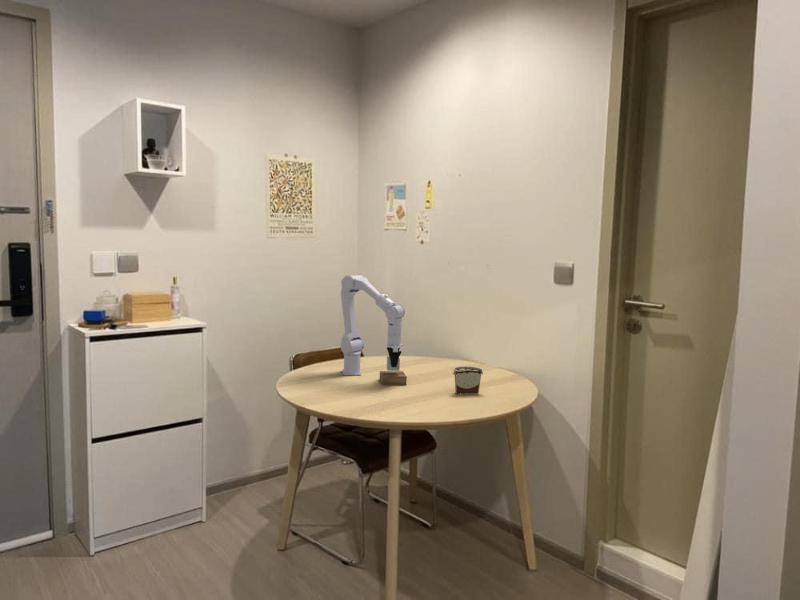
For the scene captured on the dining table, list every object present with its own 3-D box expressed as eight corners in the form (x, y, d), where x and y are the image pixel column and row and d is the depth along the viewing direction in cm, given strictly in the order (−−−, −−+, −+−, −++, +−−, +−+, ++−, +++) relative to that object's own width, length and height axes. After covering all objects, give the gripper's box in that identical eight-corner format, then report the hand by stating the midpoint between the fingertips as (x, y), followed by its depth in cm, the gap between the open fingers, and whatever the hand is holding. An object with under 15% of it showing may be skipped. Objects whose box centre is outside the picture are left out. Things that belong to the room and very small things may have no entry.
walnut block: (379, 380, 258) (379, 371, 257) (402, 380, 260) (402, 371, 259) (382, 386, 248) (383, 376, 248) (406, 385, 250) (406, 376, 249)
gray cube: (386, 367, 255) (386, 356, 255) (398, 368, 256) (398, 356, 255) (387, 370, 250) (388, 358, 250) (399, 370, 251) (399, 359, 250)
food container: (476, 389, 246) (477, 365, 245) (481, 393, 241) (483, 369, 239) (447, 390, 243) (449, 366, 242) (452, 394, 238) (454, 369, 236)
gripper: (405, 337, 245) (404, 369, 246) (402, 331, 259) (400, 361, 261) (388, 336, 244) (387, 369, 245) (385, 330, 258) (384, 361, 260)
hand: (393, 365), depth 253 cm, fingers closed on gray cube, 5 cm apart
